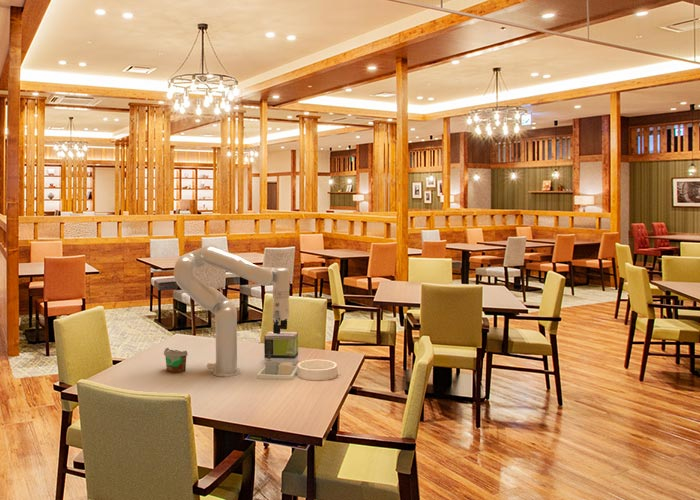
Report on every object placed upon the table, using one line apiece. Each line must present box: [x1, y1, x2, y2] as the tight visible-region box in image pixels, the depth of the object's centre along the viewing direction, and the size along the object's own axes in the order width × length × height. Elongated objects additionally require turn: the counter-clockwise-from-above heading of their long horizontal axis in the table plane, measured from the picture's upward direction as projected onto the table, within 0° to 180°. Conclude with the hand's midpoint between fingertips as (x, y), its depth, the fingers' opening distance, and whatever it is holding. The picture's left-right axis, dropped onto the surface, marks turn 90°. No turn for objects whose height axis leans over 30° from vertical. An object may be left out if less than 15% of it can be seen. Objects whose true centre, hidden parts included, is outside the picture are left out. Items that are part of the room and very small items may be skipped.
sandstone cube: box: [279, 362, 293, 376], centre depth 278 cm, size 5×5×5 cm
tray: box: [256, 365, 297, 381], centre depth 278 cm, size 16×16×2 cm
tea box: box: [263, 331, 299, 366], centre depth 298 cm, size 15×10×15 cm, turn 84°
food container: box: [163, 347, 188, 374], centre depth 281 cm, size 12×6×10 cm, turn 62°
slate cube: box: [264, 361, 279, 375], centre depth 278 cm, size 5×5×5 cm
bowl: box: [296, 358, 338, 381], centre depth 278 cm, size 18×18×5 cm
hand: (280, 331), depth 283 cm, fingers open, 9 cm apart
